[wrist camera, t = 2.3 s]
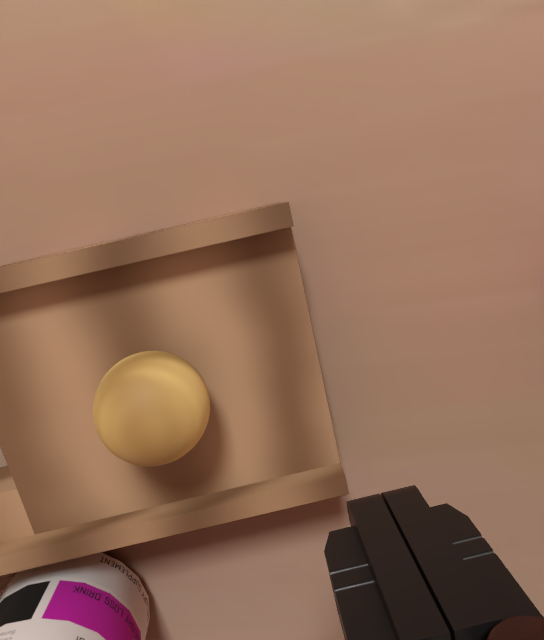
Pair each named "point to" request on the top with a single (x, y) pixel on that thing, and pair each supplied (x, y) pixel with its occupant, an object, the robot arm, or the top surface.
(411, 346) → the top surface
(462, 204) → the top surface
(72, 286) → the wooden slide tray
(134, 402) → the ball
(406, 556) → the robot arm
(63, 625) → the supplement can
